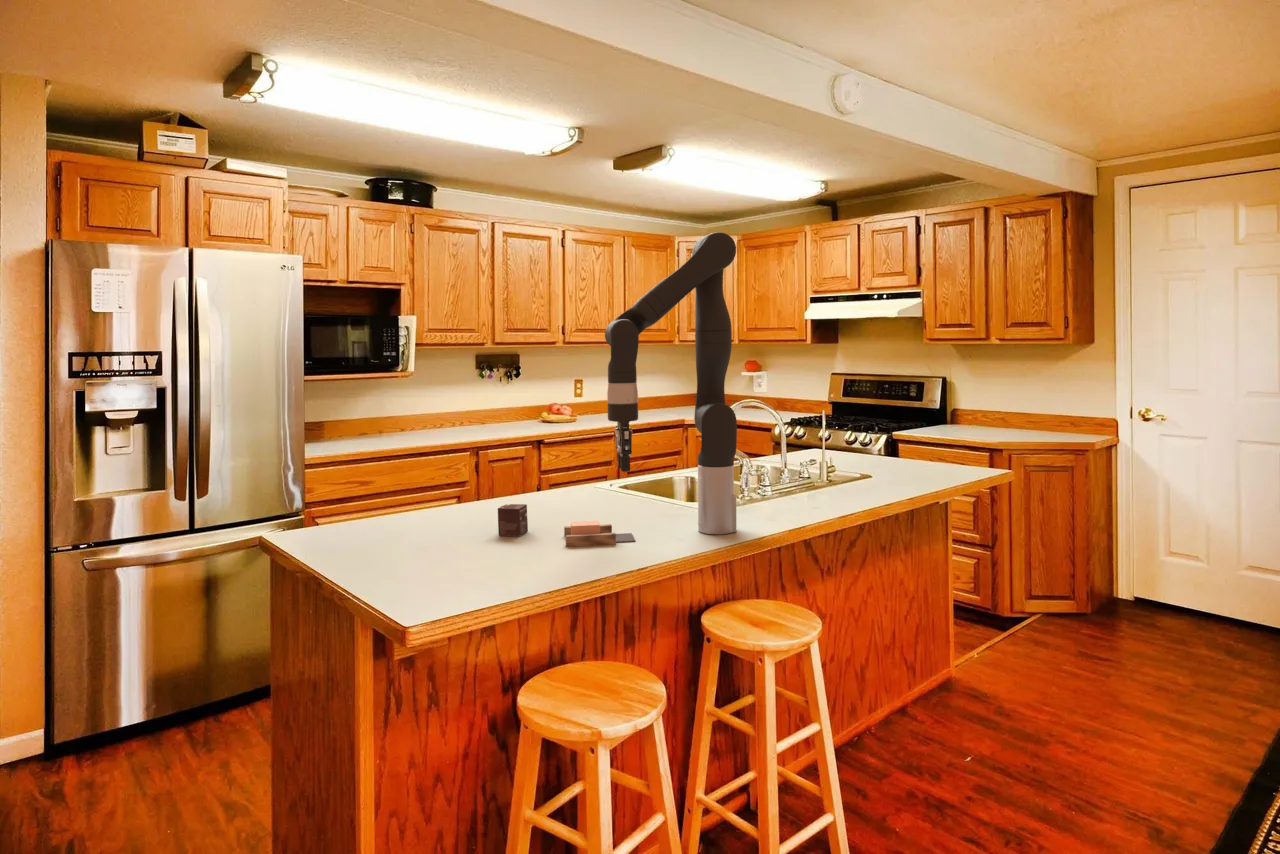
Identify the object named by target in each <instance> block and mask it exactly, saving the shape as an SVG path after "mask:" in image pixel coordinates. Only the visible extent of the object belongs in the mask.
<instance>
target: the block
mask: <svg viewBox="0 0 1280 854" xmlns="http://www.w3.org/2000/svg"><path fill="white" fill-rule="evenodd" d="M600 525H601V524H600V521H599V520H583V521H582V520H581V521H580V520H579V521H578V520H577V521H570V526H571V535H579V534H600Z"/></svg>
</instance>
